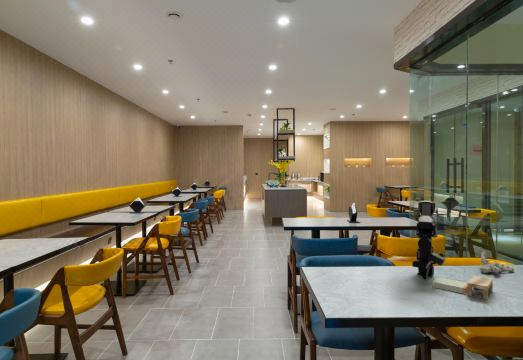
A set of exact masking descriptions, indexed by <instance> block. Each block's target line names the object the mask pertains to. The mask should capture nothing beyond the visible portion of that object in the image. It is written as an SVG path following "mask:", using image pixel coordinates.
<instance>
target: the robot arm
mask: <svg viewBox="0 0 523 360" xmlns="http://www.w3.org/2000/svg"><path fill="white" fill-rule="evenodd" d="M417 210H418V211H419V215H420V217H419V218H418V221H417V222H416V228H415V229H416V230H415V231H416V234H415V235H416V236H418V241H417V246H418V247H417V248H416V259H415V260H413V261H412V262H411V265H412V267H413V268H417V273H416V274H417V275H418V276H419V275H420V276H421V277H422V279H423V280H427V278H428V277H430V278H432V277H433V276H434V275H435V266H434V265H438V266H441V267H442V266H443V265H444V264H445V262H446V260H447V259H446V257H445V254H444V253H443V252H440V253H435V251H434V247H433V237H434V238H435V236H436V234H437V233H436V232H437V227H436V225H435V223H433V222H434V221H433V217H434V216H435V212H436V203H435V202H432V201H431V200H422V201H421V202H418V204H417Z"/></svg>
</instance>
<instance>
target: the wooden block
mask: <svg viewBox="0 0 523 360" xmlns="http://www.w3.org/2000/svg"><path fill="white" fill-rule="evenodd" d="M493 282H494V279H493V278H492V277H491V278H490V277H485V276H479V275H473V276H472V277H471V278H470V279H469V281H468V282H467V283H468V290H467V292H466V294H467V297H474V298H478V299H479V298H480V299H482V300H486V301H488V299H489V293H490V292H491V293H493V291H494V289H493V288H494V287H493V286H494V285H493V284H494V283H493ZM473 289H475V290H479V291H482V293H481V294H479V293H474V292H473Z"/></svg>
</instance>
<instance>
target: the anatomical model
mask: <svg viewBox="0 0 523 360" xmlns="http://www.w3.org/2000/svg"><path fill="white" fill-rule="evenodd" d="M487 258H488V256H487V253H486V251H484V250H483V251H482V252H481V254H480V263H481V264H480V267H479V268H480V271H481V272H482V273H484V274H488V273H493V274H499V273H500V272H503V271H506V272H510V273H514V272H515V268H514V267H510V266H508V265H506V266H505V265H504V264H499V262H498V261H497V262H494V261H493V262H491V264H490V263H489V262H490V259H487Z"/></svg>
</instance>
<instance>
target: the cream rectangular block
mask: <svg viewBox="0 0 523 360" xmlns="http://www.w3.org/2000/svg"><path fill="white" fill-rule="evenodd" d="M432 287H433V288H437V289H442V290H447V291H451V292H456V293H460V294H464V295H465V294H467V290H468V282H465V281H459V280H455V279H449V278H443V277H437V278H436V279H434V280H433V281H432Z"/></svg>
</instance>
